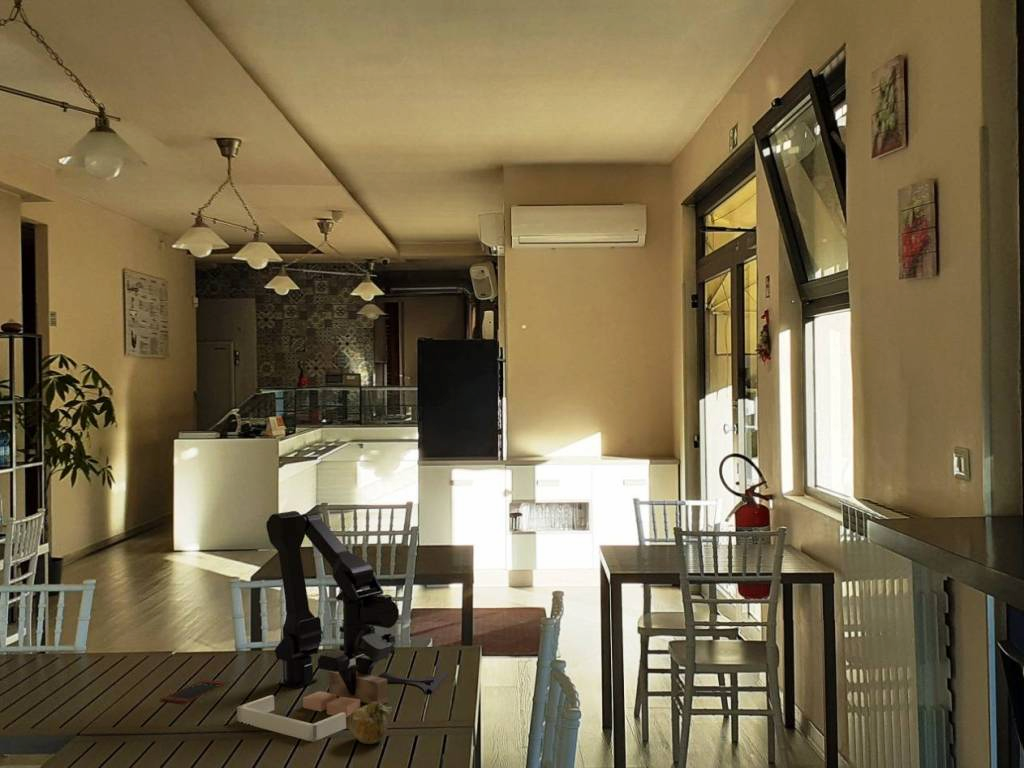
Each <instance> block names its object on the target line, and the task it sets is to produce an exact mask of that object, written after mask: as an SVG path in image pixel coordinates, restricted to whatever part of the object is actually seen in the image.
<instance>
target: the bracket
mask: <svg viewBox="0 0 1024 768" xmlns="http://www.w3.org/2000/svg"><path fill="white" fill-rule="evenodd" d="M439 674H440V675H439V676H436V675H434V676H429V677H424V678H408V677H402V676H398V675H395V674H391V673H387V672H386V671H385V672H384V671H383V672H381V673H380V674H379V675H378V677H380V678H385V679H387V682H390V683H389V684H392V683H391V682H394V683H393V684H396V683H395V682H398V683H397V684H406V685H411V684H413V685H412V686H415V685H417V686H416V687H418V686H419V687H418V688H420V687H421V688H422V689H421V688H420V689H421V690H422V691H423V690H424V691H423V692H424V693H425V692H428V691H429V690H430V691H429V692H430V693H433V694H434V693H435V691H436V690H437V689H438V688H439V686H440V685H441V684H442V683H443V682H444V681H443V680H445V679H447V677H448V676H449V671H448V670H446V669H444V670H443V671H442V672H440V673H439ZM447 675H448V676H447ZM446 676H447V677H446ZM442 681H443V682H442ZM441 682H442V683H441ZM425 683H432V684H425ZM440 683H441V684H440ZM439 684H440V685H439ZM437 687H438V688H437ZM436 688H437V689H436ZM435 689H436V690H435ZM429 692H428V693H429Z"/></svg>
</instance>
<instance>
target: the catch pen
mask: <svg viewBox="0 0 1024 768" xmlns="http://www.w3.org/2000/svg"><path fill="white" fill-rule="evenodd" d="M236 710H237V711H236V713H237V715H236V716H237V717H236V718H237V722H238V721H239V723H241V722H243V723H242V724H245V723H246V724H245V725H248V724H250V725H249V726H252V725H253V727H256V728H260V729H264V730H267V731H271V732H275V733H279V734H282V735H286V736H289V737H290V736H291V737H294V738H298V739H300V740H304V741H309V742H313V743H314V742H316V741H318V740H321V739H325V738H326V737H328V736H331V735H333V734H336V733H338V732H340V731H342V730H345V729H347V717H346V713H343V712H342V713H339V714H337V715H331V716H329V717H326V718H325V719H322V720H319V721H317V722H314V723H310V722H306V721H302V720H299V719H295V718H291V717H287V716H285V715H284V716H283V715H279V714H275V713H271V712H273V711H275V696H274V695H272V694H271V695H268V696H265V697H262V698H259V699H256V700H253V701H250V702H247V703H244V704H242V705H239V706H237V707H236Z"/></svg>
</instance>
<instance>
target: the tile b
mask: <svg viewBox="0 0 1024 768" xmlns="http://www.w3.org/2000/svg"><path fill="white" fill-rule="evenodd" d="M360 707H361V702H360V699H354V698H347V697H340V696H338V697H337V699H335V700H333V701H331V702H329V703H327V709H326V714H327V715H329V716H330V715H331V716H334V715H337V714H339V713H342V712H343V713H346V718H348V717H350V716H349V715H351V713H352V712H353V711H354V710H356V709H358V708H360Z"/></svg>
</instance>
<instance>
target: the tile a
mask: <svg viewBox="0 0 1024 768" xmlns="http://www.w3.org/2000/svg"><path fill="white" fill-rule="evenodd" d="M337 698H338V696H337V694H331V693H329V692H326V691H325V692H324V691H321V690H319V691H316V692H314V693H311V694H308V695H306V696H304V697H302V707H303V709H306V708H307V710H312V711H317V712H323V711H327V703H329V702H331V701H333V700H335V699H337Z"/></svg>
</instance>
